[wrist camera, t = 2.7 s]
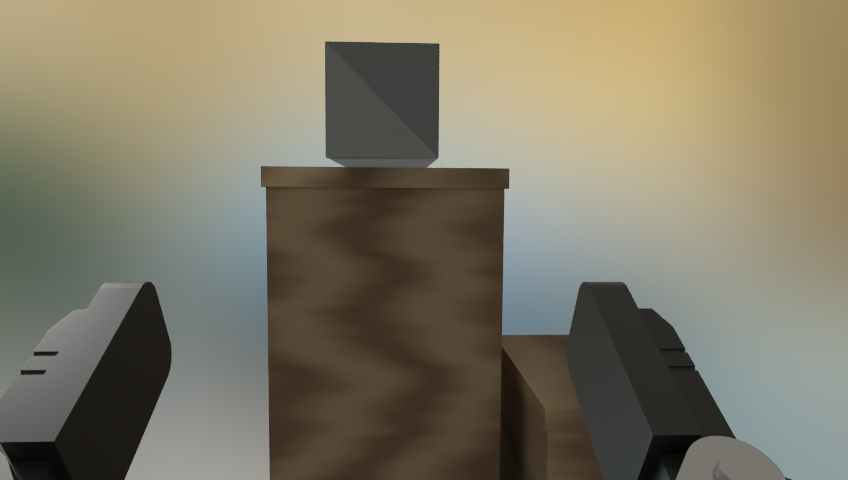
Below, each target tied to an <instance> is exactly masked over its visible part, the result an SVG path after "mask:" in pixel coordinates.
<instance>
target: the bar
mask: <svg viewBox="0 0 848 480" xmlns="http://www.w3.org/2000/svg"><path fill="white" fill-rule="evenodd" d="M325 77H326V78H325V81H326V82H325V83H326V84H325V93H326V157H327V158H329V159H331V160H333V161H335V162H337V163H339V164H341V165H343V166H345V167H380V168H427V167H428V166H429V165H430V164H432V163H433V162H434V161H435V160H436V159H438V140H439V136H438V135H439V133H438V132H439V44H428V43H426V44H425V43H373V42H325Z"/></svg>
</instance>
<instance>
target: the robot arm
mask: <svg viewBox="0 0 848 480" xmlns="http://www.w3.org/2000/svg"><path fill="white" fill-rule="evenodd" d="M567 360H568V368H569V373H570V376H571V379H572V382H573V385H574V389H575V392H576V395H577V398H578V401H579V404H580V407H581V410H582V413H583V417H584V420H585V423H586V426H587V429H588V432H589V435H590V438H591V441H592V444H593V448H594V451H595V454H596V457H597V460H598V463H599V466H600V469H601V472H602V475H603V479H604V480H791V479H788V478H785V477H784V475H783V474H782V472H781V471H780V469H779V468H778V467H777V465H776V464H775V463H774V462H773V461H772V460H771V459H770V458H769V457H767V456H766V455H765V454H764V453H762V452H761V451H759V450H758V449H756V448H755V447H753V446H751V445H749V444H747V443H745V442H742V441H740V440H737V439H736V438H735V436H734V435H733V433H732V431H731V429H730V428H729V426H728V424H727V422H726V420H725V418H724V417H723V415H722V413H721V411H720V410H719V408H718V406H717V404H716V402H715V401H714V399H713V397H712V395H711V394H710V392H709V390H708V388H707V386H706V385H705V383H704V381H703V379H702V378H701V376H700V374H699V372H698V371H695V365H694V363H693V362H692V360H691V358H690V356H689V355H688V353H685V347H684V346H683V344H682V342H681V340H680V339H679V337H678V335H677V333H676V331H675V330H674V328H673V327H672V326H671V325H670V324H669V323H668V322H667V321H666V320H664V319H663V318H662V317H661V316H660V315H659V314H657V313H656V312H655V311H654V310H653V309H638V307H637V305H636V303H635V302H634V299H633V298H632V295H631V293H630V292H629V290H628V288H627V286H626V285H625V284H624V283H623V282H583V283H582V284H581V286H580V288H579V292H578V297H577V301H576V306H575V311H574V315H573V321H572V325H571V329H570V334H569V339H568V345H567ZM170 366H171V343H170V339H169V336H168V332H167V328H166V325H165V321H164V317H163V314H162V310H161V306H160V303H159V299H158V296H157V292H156V289H155V287H154V285H153V284H152V283H151V282H106V283H104V284H103V286H102V287H101V288H100V289H99V291H98V293H97V294H96V296H95V297H94V299H93V300H92V302H91V303H90V305H89V306H88V308H87V309H86V310H74V311H73V312H71V313H70V314H69V315H67V316H66V317H65V318H63V319H62V320H61V321H59V322H58V323H57V324H55V325H54V326H53V327H52V328H50V329H49V331H48V332H47V333H46V335H45V336H44V338H43V339H42V340H41V342H40V343H39V345H38V346H37V348H36V349H35V350H34V356H30V358H29V359H28V360H27V362H26V363H25V365H24V366H23V367H22V369H21V374H20V375H17V376H16V377H15V379H14V380H13V382H12V383H11V385H10V386H9V388H8V389H7V390H6V392H5V393H4V395H3V396H2V398H1V399H0V480H124V479H125V477H126V474H127V472H128V470H129V467H130V465H131V462H132V460H133V458H134V455H135V453H136V451H137V448H138V446H139V444H140V441H141V439H142V436H143V434H144V432H145V429H146V427H147V425H148V422H149V420H150V418H151V415H152V413H153V410H154V408H155V406H156V403H157V401H158V399H159V396H160V394H161V391H162V389H163V387H164V384H165V382H166V379H167V377H168V374H169V371H170Z"/></svg>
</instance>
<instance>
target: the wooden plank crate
mask: <svg viewBox="0 0 848 480" xmlns="http://www.w3.org/2000/svg"><path fill="white" fill-rule="evenodd" d="M261 187H266V210H267V211H266V212H267V213H266V216H267V289H268V291H267V292H268V368H269V369H268V370H269V442H270V443H269V447H270V480H604V479H603V475H602V472H601V469H600V466H599V463H598V460H597V457H596V454H595V451H594V448H593V444H592V441H591V438H590V435H589V432H588V429H587V426H586V423H585V420H584V417H583V413H582V410H581V407H580V404H579V401H578V398H577V395H576V392H575V389H574V385H573V382H572V379H571V376H570V373H569V368H568V360H567V345H568V339H569V335H502V292H503V291H502V290H503V233H504V189H509V169H491V168H490V169H488V168H481V169H480V168H380V167H269V166H268V167H267V166H264V167H263V166H261Z"/></svg>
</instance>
